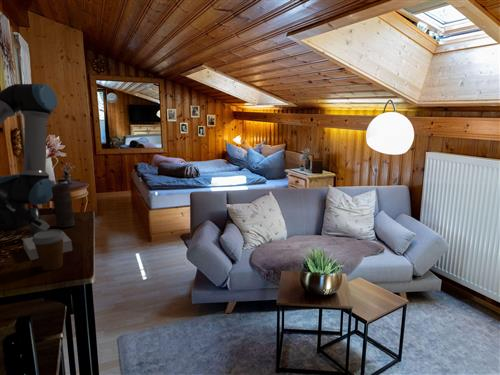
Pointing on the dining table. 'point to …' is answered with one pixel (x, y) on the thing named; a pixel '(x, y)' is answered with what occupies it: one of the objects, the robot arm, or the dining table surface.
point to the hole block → (32, 251)
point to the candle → (63, 205)
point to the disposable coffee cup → (49, 248)
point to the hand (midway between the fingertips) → (46, 227)
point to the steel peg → (35, 213)
